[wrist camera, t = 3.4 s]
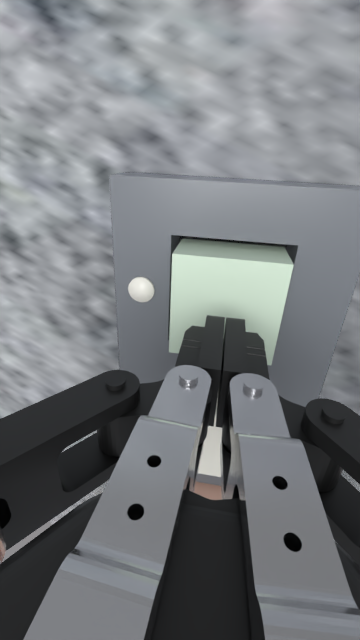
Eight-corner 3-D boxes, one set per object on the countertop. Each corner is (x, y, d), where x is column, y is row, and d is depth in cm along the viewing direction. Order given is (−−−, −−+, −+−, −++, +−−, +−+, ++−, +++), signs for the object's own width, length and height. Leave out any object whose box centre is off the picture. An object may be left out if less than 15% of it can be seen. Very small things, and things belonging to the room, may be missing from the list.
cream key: (256, 386, 20) (258, 421, 17) (244, 443, 22) (245, 481, 20) (175, 375, 21) (166, 407, 18) (173, 432, 23) (164, 467, 20)
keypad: (361, 185, 16) (388, 192, 13) (262, 523, 29) (265, 562, 26) (128, 171, 17) (107, 175, 14) (137, 499, 31) (127, 534, 28)
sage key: (284, 246, 16) (293, 264, 13) (266, 335, 18) (271, 365, 16) (182, 238, 16) (172, 253, 14) (178, 324, 19) (168, 352, 16)
